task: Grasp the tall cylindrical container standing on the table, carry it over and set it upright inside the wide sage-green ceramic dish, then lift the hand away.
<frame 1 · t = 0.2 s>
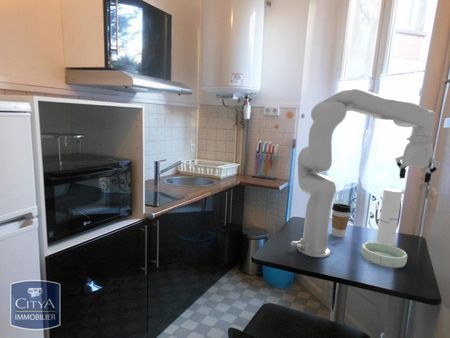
hand: (414, 180, 129), 31 cm above the table, tool pointing down, fingers open, 9 cm apart
cylindrical container: (384, 243, 138), on the table
coffee cup: (338, 235, 145), on the table
dish: (382, 258, 121), on the table
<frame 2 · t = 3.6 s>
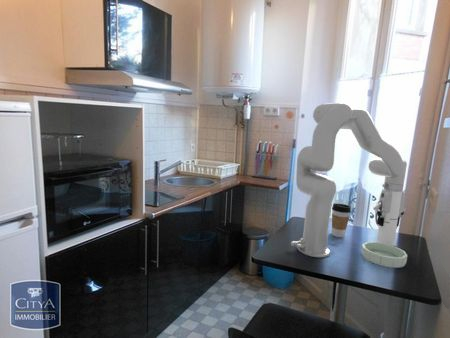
hand: (387, 225, 137), 9 cm above the table, tool pointing down, fingers closed on cylindrical container, 7 cm apart
cylindrical container: (384, 243, 138), on the table, touching gripper
everything else where it was.
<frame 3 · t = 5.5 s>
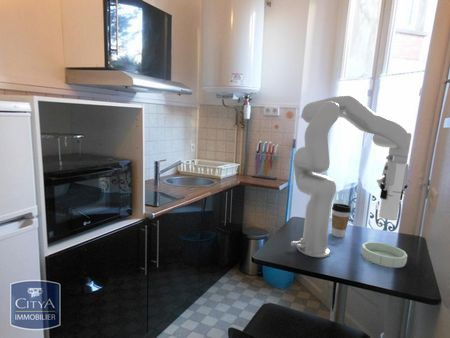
hand: (390, 198, 135), 21 cm above the table, tool pointing down, fingers closed on cylindrical container, 7 cm apart
cylindrical container: (387, 218, 136), point 12 cm above the table, touching gripper
everything else where it was.
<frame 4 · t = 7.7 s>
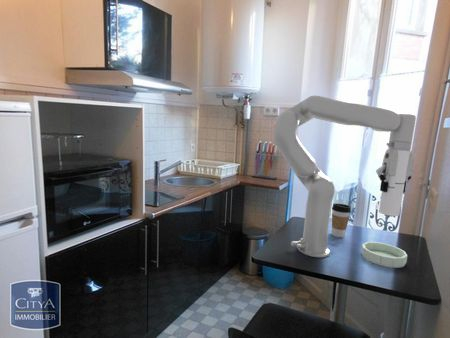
hand: (392, 191, 117), 28 cm above the table, tool pointing down, fingers closed on cylindrical container, 7 cm apart
cylindrical container: (388, 213, 118), point 18 cm above the table, touching gripper
everything else where it was.
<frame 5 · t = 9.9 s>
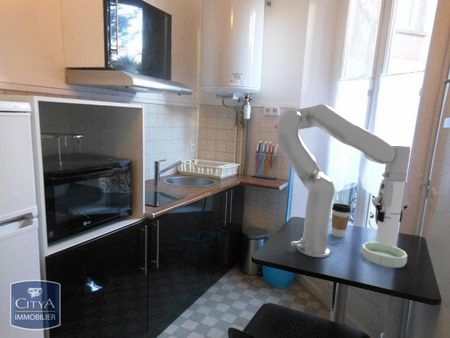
hand: (388, 220, 118), 16 cm above the table, tool pointing down, fingers closed on cylindrical container, 7 cm apart
cylindrical container: (385, 242, 120), point 7 cm above the table, touching gripper
everything else where it was.
when the fingers open (11 cm above the table, at t = 11.9 s): cylindrical container drops 1 cm, resting on dish.
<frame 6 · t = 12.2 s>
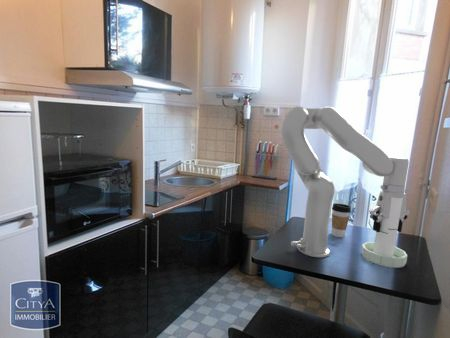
hand: (386, 230, 119), 12 cm above the table, tool pointing down, fingers open, 9 cm apart
cylindrical container: (382, 257, 121), point 1 cm above the table, touching dish
everything else where it was.
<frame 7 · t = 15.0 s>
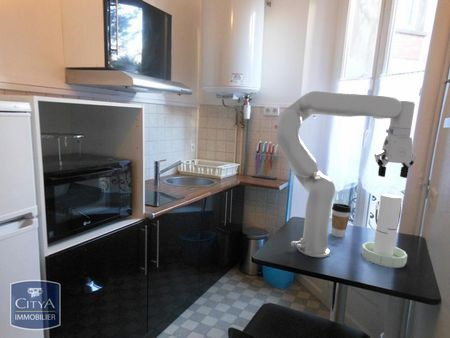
hand: (392, 176, 118), 33 cm above the table, tool pointing down, fingers open, 9 cm apart
nothing on the table moved.
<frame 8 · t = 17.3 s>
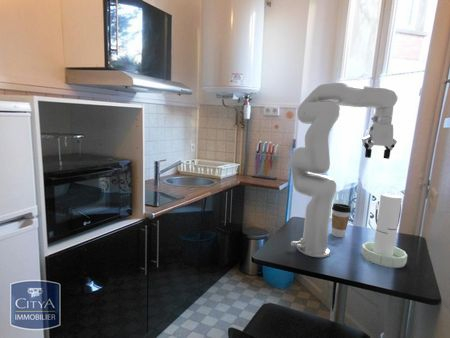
hand: (377, 158, 139), 38 cm above the table, tool pointing down, fingers open, 9 cm apart
nothing on the table moved.
at the end: cylindrical container 0.3 cm off-centre on the dish, point 0.6 cm above the dish's base; cylindrical container tilted 0°; the gripper is holding nothing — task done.
